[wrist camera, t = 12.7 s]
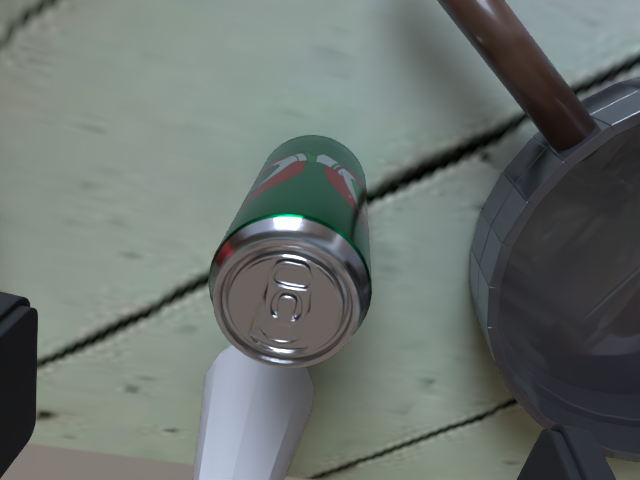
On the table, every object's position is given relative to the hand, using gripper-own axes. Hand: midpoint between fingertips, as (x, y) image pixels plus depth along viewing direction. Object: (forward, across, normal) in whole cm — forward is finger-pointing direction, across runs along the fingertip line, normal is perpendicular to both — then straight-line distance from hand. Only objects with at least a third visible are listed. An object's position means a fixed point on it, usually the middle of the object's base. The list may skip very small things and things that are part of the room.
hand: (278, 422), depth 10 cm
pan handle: (+16, -5, -7) cm, 18 cm away
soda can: (+18, +1, +2) cm, 18 cm away
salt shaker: (+18, +1, +12) cm, 22 cm away
